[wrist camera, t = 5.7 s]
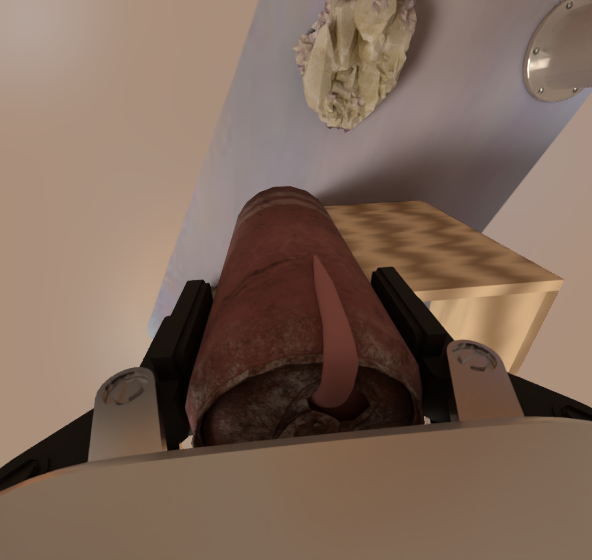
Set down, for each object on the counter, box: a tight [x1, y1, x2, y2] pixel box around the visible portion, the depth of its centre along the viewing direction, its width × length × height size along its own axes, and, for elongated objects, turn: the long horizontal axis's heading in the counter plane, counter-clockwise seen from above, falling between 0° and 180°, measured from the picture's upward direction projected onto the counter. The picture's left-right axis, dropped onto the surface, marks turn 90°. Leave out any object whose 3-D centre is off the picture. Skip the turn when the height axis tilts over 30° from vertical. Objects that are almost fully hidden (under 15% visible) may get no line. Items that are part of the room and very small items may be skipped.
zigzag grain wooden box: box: [324, 200, 564, 376], centre depth 43 cm, size 24×19×28 cm
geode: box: [293, 0, 417, 133], centre depth 37 cm, size 17×9×15 cm
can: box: [185, 186, 425, 448], centre depth 13 cm, size 6×6×14 cm
